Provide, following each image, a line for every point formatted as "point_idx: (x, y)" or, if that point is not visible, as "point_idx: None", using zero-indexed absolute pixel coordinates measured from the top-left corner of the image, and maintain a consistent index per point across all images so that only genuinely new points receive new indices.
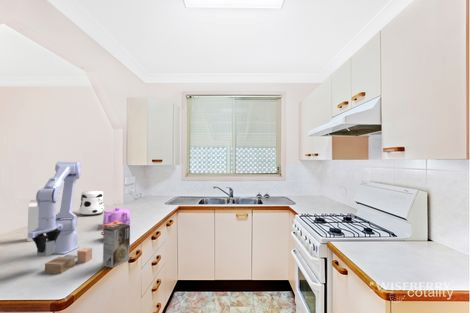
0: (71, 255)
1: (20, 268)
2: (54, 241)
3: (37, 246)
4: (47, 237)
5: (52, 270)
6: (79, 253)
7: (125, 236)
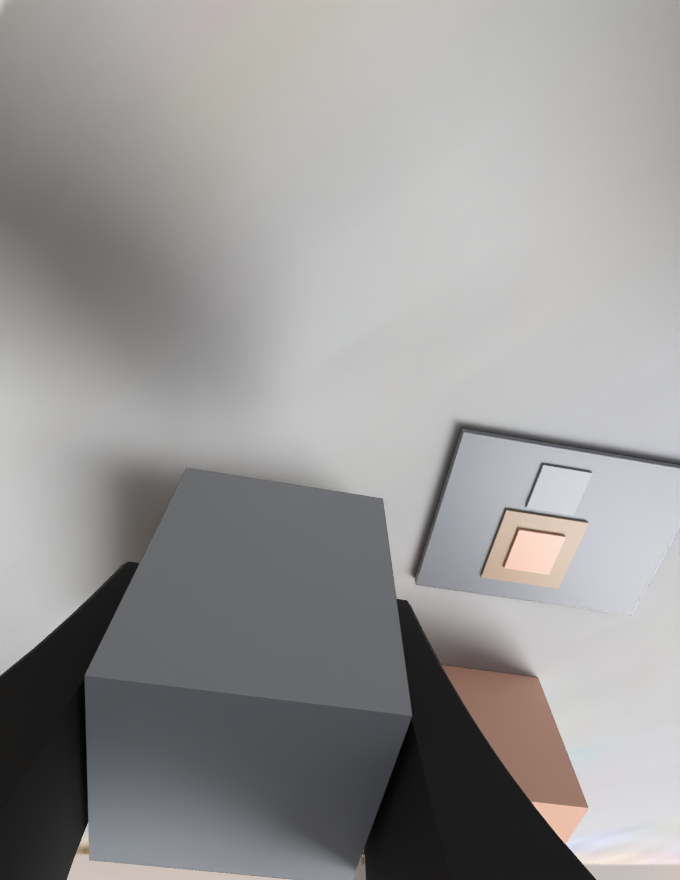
0: (663, 540)
1: (277, 72)
2: (348, 863)
3: (40, 666)
4: (431, 838)
5: None
6: None
7: None
